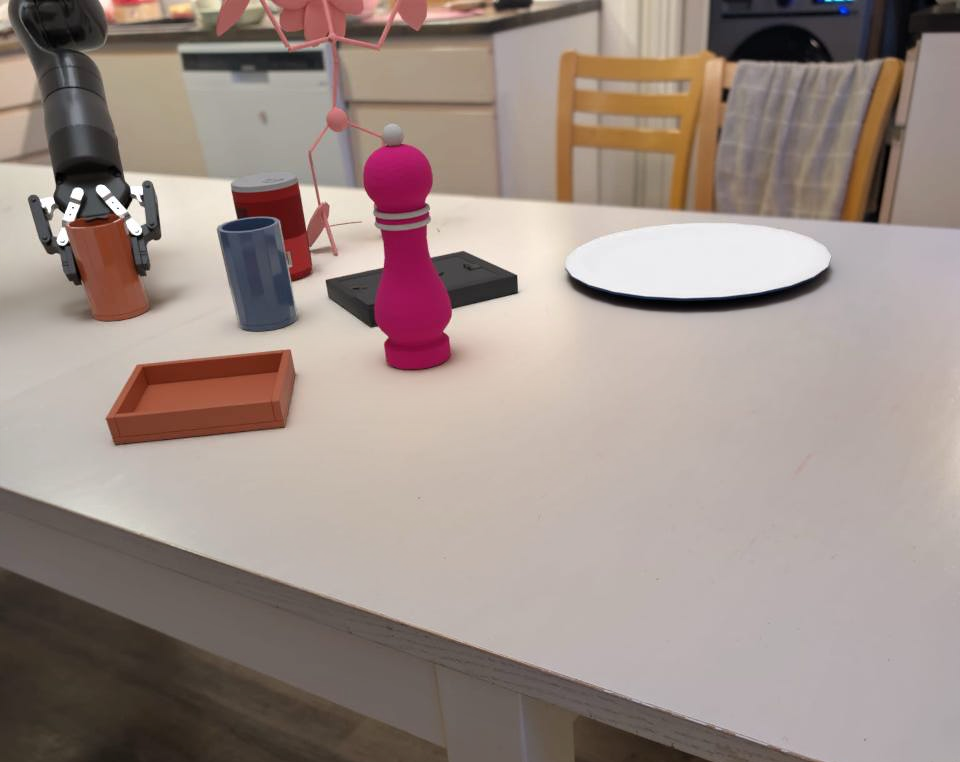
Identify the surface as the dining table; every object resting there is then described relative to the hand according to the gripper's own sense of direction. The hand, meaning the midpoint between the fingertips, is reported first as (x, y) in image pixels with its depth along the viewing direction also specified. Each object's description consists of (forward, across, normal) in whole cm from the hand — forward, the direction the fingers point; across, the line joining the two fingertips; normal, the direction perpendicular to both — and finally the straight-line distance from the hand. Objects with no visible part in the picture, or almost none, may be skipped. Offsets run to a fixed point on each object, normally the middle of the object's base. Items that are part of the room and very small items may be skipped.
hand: (109, 276), depth 105 cm
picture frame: (+10, +34, -3) cm, 35 cm away
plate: (+14, +64, -8) cm, 66 cm away
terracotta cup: (+2, 0, +4) cm, 5 cm away
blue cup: (+11, +16, -4) cm, 20 cm away
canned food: (-2, +19, +8) cm, 21 cm away
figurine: (-11, +30, +18) cm, 37 cm away
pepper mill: (+24, +29, -17) cm, 41 cm away
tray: (+26, +9, -20) cm, 34 cm away
